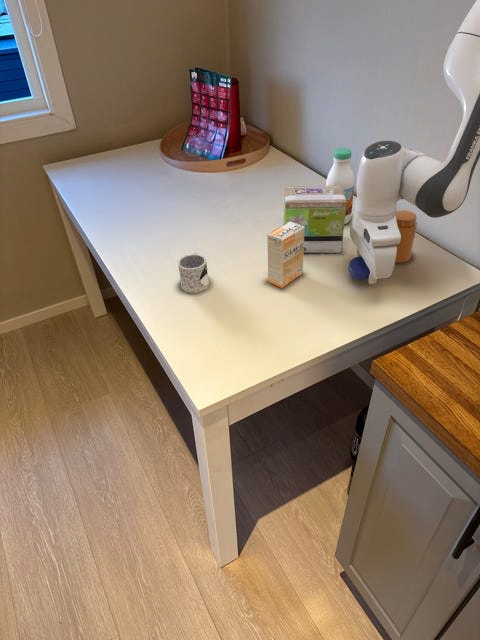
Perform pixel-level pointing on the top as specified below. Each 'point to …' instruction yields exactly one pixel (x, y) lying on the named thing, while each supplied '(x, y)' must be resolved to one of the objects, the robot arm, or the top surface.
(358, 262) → the lid
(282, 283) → the supplement box
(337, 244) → the tea box
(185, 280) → the mug
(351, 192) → the milk bottle
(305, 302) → the top surface
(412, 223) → the jar
